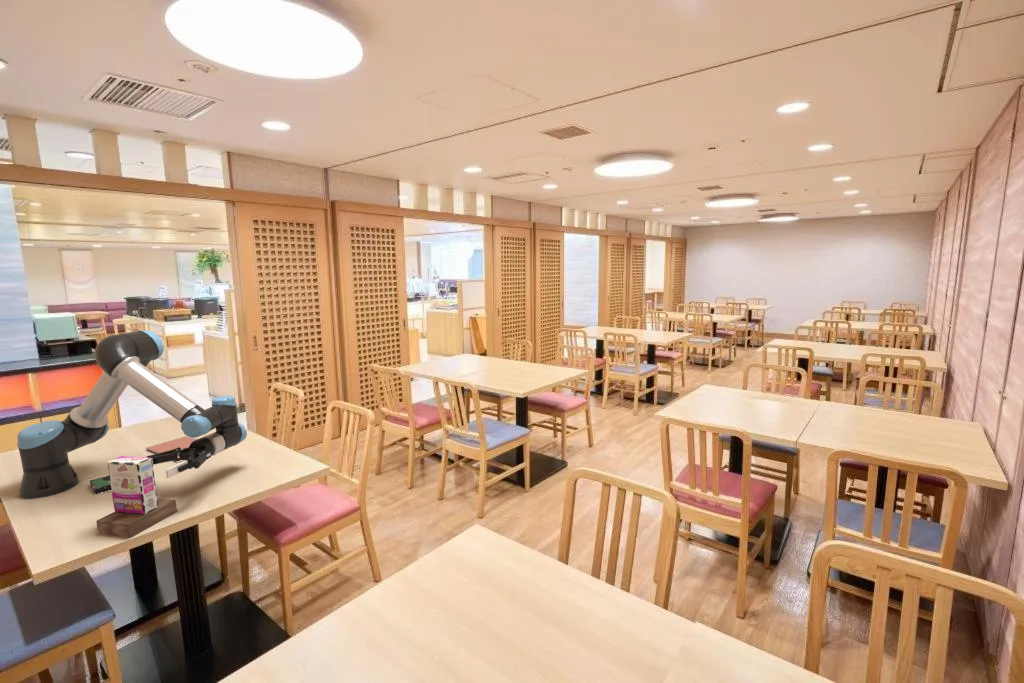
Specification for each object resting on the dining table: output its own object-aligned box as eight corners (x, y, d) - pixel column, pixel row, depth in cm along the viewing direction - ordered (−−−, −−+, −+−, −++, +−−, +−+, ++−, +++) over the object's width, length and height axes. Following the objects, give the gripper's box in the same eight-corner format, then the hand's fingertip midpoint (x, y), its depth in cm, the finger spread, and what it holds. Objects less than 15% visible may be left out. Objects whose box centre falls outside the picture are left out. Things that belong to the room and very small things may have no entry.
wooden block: (98, 533, 139) (96, 520, 138) (147, 507, 153) (145, 496, 153) (130, 537, 136) (128, 525, 136) (177, 511, 151) (175, 500, 150)
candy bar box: (160, 507, 146) (153, 457, 143) (145, 515, 141) (137, 463, 138) (129, 504, 148) (122, 455, 145) (113, 512, 143) (105, 461, 140)
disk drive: (140, 474, 181) (89, 487, 169) (140, 467, 180) (88, 479, 169) (147, 481, 174) (95, 496, 163) (147, 474, 173) (94, 488, 162)
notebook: (220, 450, 203) (220, 445, 203) (177, 464, 189) (177, 459, 189) (188, 439, 217) (188, 435, 217) (146, 451, 203) (145, 447, 202)
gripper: (237, 459, 166) (183, 487, 145) (179, 454, 171) (120, 479, 151) (235, 439, 164) (180, 464, 144) (176, 434, 170) (116, 457, 150)
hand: (149, 472), depth 147 cm, fingers open, 13 cm apart
